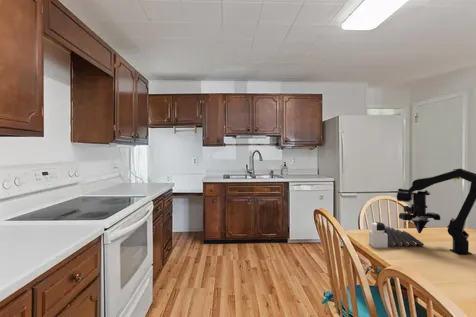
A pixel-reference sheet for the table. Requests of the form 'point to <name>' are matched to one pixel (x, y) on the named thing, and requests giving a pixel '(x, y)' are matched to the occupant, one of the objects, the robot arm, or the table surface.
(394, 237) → the domino
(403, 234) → the domino
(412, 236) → the domino
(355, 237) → the table surface
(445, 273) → the table surface
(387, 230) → the domino
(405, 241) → the domino
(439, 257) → the table surface
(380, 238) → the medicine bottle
